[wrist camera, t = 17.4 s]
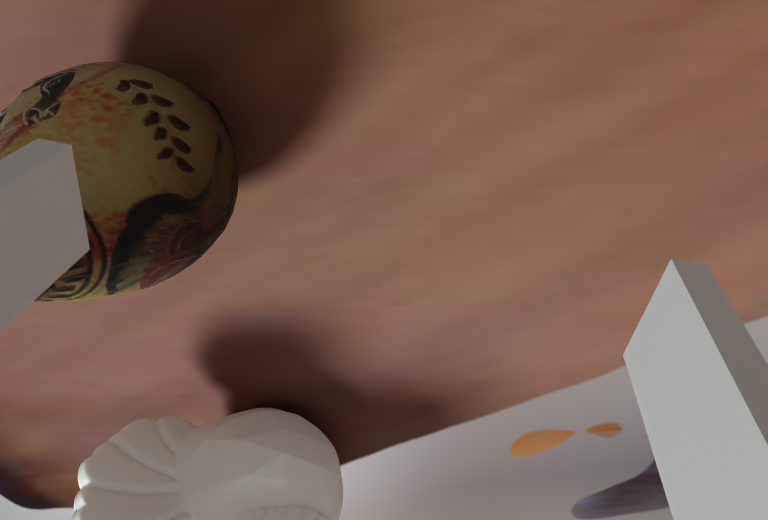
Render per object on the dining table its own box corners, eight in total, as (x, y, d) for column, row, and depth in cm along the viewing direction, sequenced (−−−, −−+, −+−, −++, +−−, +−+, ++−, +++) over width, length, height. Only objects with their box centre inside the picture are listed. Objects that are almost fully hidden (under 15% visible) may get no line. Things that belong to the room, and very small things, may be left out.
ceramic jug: (144, -9, 41) (-371, 142, 16) (302, 144, 46) (91, 443, 21) (43, 141, 49) (-408, 398, 24) (187, 259, 54) (-67, 576, 29)
